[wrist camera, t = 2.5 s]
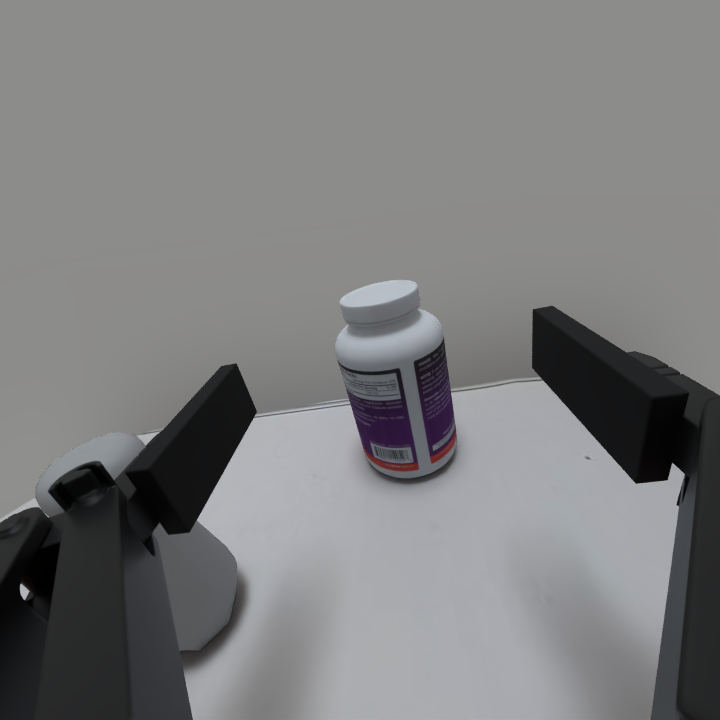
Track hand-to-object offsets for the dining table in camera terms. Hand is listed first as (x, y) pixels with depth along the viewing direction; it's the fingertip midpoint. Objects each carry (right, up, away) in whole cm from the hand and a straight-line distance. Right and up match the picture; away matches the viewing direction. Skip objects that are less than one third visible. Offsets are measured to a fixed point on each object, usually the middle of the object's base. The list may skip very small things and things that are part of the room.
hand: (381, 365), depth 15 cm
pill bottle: (+4, -8, +15) cm, 17 cm away
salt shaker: (-11, -16, +6) cm, 20 cm away
